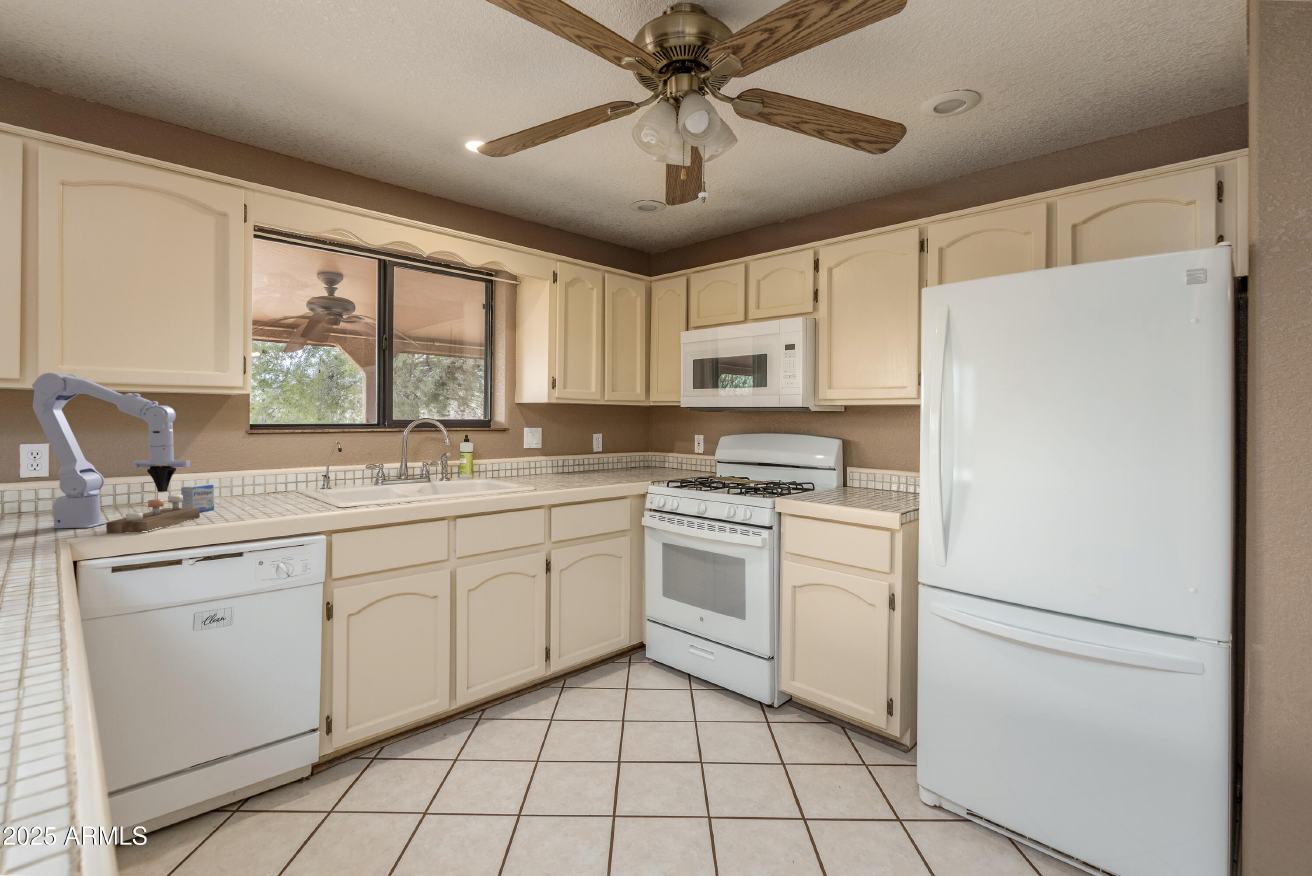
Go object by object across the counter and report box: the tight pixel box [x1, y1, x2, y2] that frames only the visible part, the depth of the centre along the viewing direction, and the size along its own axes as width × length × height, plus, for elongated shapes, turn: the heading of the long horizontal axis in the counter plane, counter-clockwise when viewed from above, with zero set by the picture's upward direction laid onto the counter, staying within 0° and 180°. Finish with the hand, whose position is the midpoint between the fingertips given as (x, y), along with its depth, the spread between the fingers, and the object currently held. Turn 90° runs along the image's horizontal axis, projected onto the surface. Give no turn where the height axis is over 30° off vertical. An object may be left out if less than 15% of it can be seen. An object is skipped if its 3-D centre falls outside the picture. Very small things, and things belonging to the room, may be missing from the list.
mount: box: [105, 507, 201, 534], centre depth 178 cm, size 10×24×3 cm, turn 8°
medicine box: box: [180, 483, 215, 513], centre depth 202 cm, size 8×4×9 cm, turn 168°
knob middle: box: [147, 498, 165, 515], centre depth 178 cm, size 4×4×4 cm
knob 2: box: [167, 494, 183, 510], centre depth 187 cm, size 4×4×4 cm
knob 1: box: [125, 512, 143, 521], centre depth 169 cm, size 4×4×4 cm
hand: (162, 491), depth 181 cm, fingers closed
